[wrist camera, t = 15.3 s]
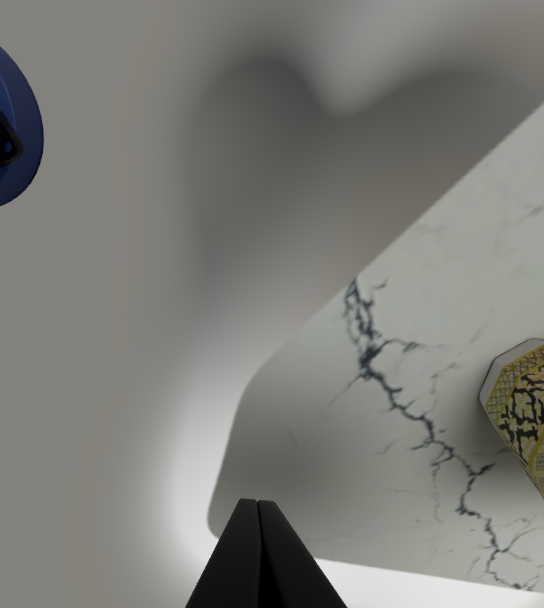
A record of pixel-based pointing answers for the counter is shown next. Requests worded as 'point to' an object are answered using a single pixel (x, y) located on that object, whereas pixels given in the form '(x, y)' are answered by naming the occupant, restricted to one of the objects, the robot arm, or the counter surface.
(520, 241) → the counter surface
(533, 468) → the ceramic cup
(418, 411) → the counter surface
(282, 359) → the counter surface
